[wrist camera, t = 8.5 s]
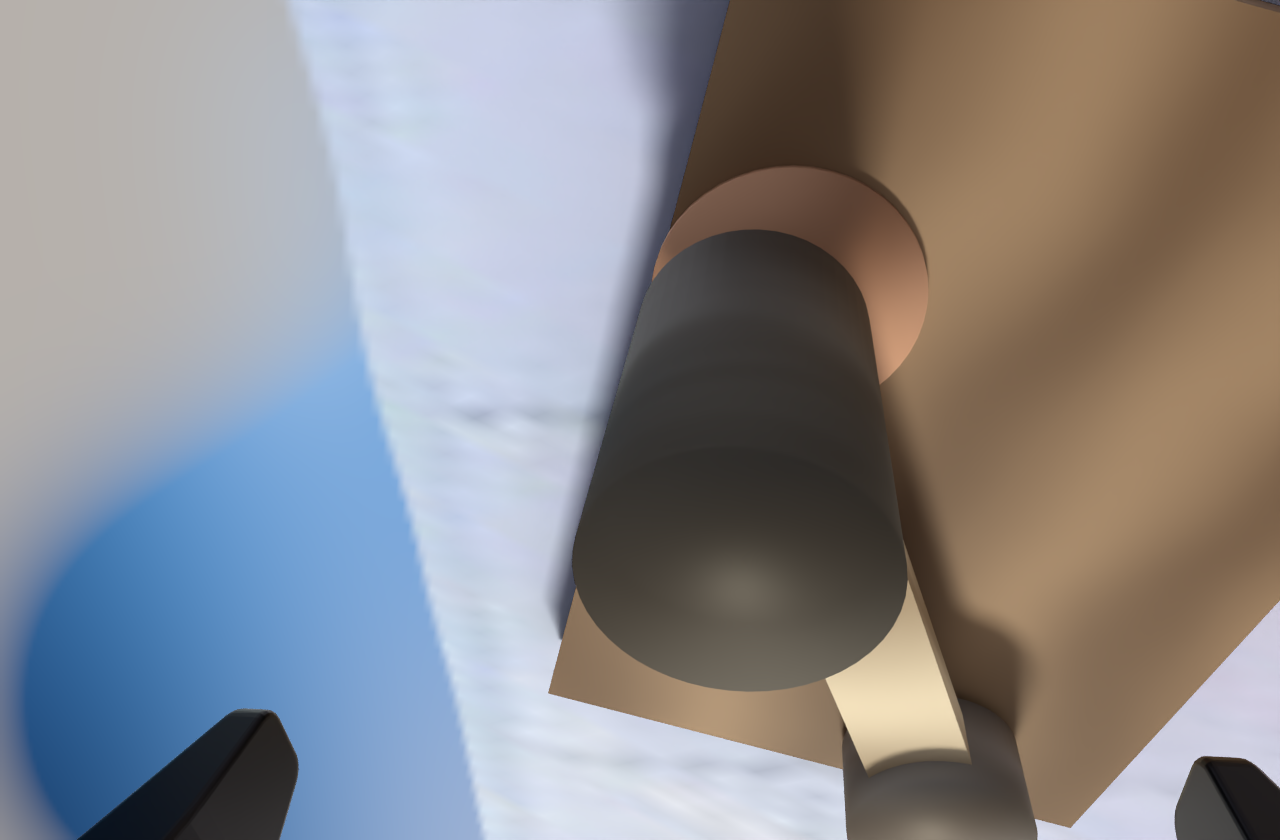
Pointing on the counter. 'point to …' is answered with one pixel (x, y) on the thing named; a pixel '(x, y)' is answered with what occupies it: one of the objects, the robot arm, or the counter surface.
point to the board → (1023, 344)
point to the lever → (784, 532)
